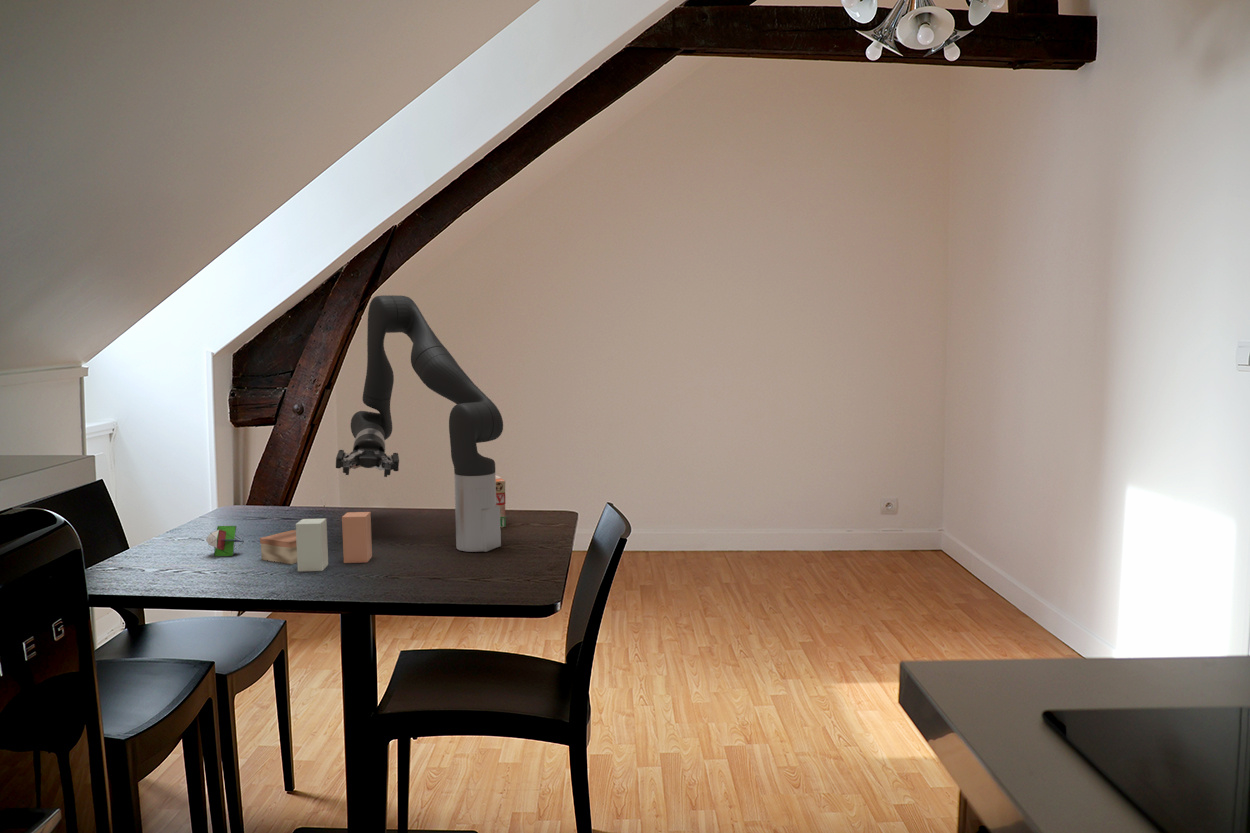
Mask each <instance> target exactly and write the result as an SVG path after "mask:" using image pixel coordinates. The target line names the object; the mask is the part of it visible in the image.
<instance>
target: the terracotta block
mask: <svg viewBox="0 0 1250 833" xmlns="http://www.w3.org/2000/svg"><path fill="white" fill-rule="evenodd" d="M371 514H372V513H371V511H356V512H355V511H352V512H351V511H350V512H345V514H344V515H342V516H341V522H342V523H341V524H342V525H341V526H342V527H341V528H342V552H343V563H344V564H352V563H353V564H356V563H360V564H361V563H368V562H369V561H370V560H371V559H372V557H373V549H372V548H373V547H372V522H371V521H372V520H371V516H372V515H371Z"/></svg>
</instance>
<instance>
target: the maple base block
mask: <svg viewBox="0 0 1250 833" xmlns="http://www.w3.org/2000/svg"><path fill="white" fill-rule="evenodd" d="M259 543H260V550H261V551H260V553H261V554H260V556H261V560H262V561H267V560H268V562H274V561H275V562H274V563H280V562H281V563H280V564H286V565H287V564H288V565H293V564H297V543H296V529H291V530H287V531H283V532H279V533H275V534H271V535H267V536H262V537H259Z"/></svg>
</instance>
